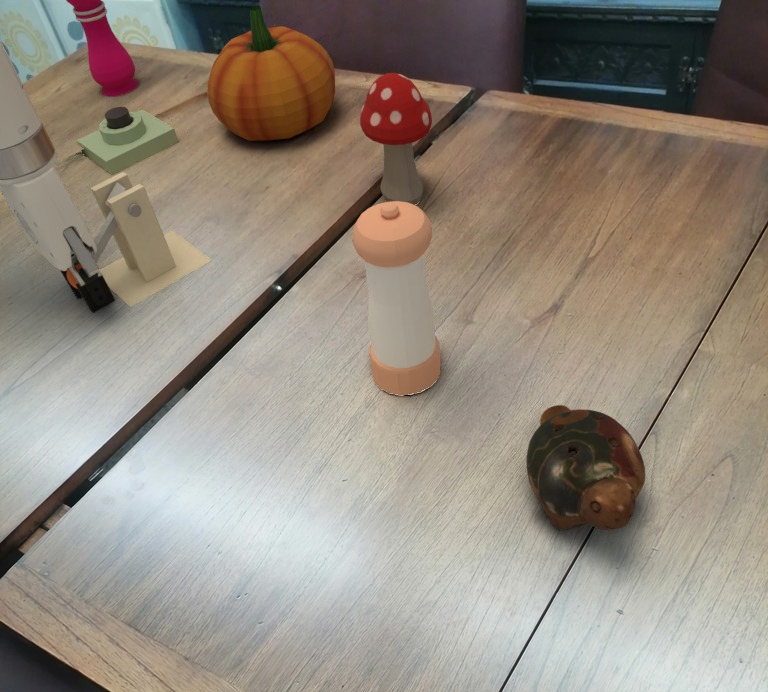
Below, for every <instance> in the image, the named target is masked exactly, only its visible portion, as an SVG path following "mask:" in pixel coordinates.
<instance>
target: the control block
mask: <svg viewBox="0 0 768 692" xmlns="http://www.w3.org/2000/svg"><path fill="white" fill-rule="evenodd" d="M129 114H130V116H131V119H132V123H131V124H130V125H129V126H127V127H125V128H121V129H110V128H109V125H108V123H107V121H106V118H105V117H104V119H103V120H102V121H101V122H100V123H99V126H98V129H97V130H95V131H93V132H91V133H89V134H87V135H84V136H82V137H81V138H79V139H76V142H77V145H79V146H80V147H81V148H82V149H81V150H80V151H81V153H82V154H83V155H84V156H85V157H86V158H88V159H89V160H91V161H92V162H93V163H95V164H96V165H97V166H99V167H100V168H102V170H104V171H106V172H107V173H108V174H110V175H111V176H113V175H115V174H118V173H119V172H121V171H123V170H126V169H128V168H129V167H131V166H133V165H135V164H137V163H139V162H141V161H143V160H145V159H147V158H149V157H151V156H154V155H155V154H157V153H159V152H161V151H164V150H166V149H167V148H169V147H171V146H173V145H176V144H177V143H179V139H178V136H177V134H176V130H175V128H174V127H173V126H171V125H169V124H168V123H166V122H165V121H162V120H161V119H159V118H158V117H156V116H154V115H153V114H151V113H149V112H148V111H146V110H145V109H143V108H142V109H140V110H138V111H129Z"/></svg>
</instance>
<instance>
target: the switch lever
mask: <svg viewBox="0 0 768 692" xmlns="http://www.w3.org/2000/svg"><path fill="white" fill-rule="evenodd" d="M126 190H127V189H126V188H125V187H123V186H122V185H120V184H119V183H116V185H115V186H114V188H113V190H112V192H111V194H110V195H109V197H108V199H107V200H109V199H111V198H113V197H115V196H117V195H119V194H120V193H122V192H124V191H126ZM105 204H106V205H107V206H109V205H108V203H107V201H106V202H105ZM117 226H118V224H117V222H116V220H115V218H114V216H113V213H112V211H110V213H109V215H108V216H107V218H106V220H105V219H104V222H103V224H102V225H101V227H100V228H99V230H98V232H97V234H96V236H95V237H94V238H93V239H94V242H95V244H96V247H97V252H96V254H95V255H94V254H92V253H91V252H90V251H89V252H90V254H91V256H92V257H93V259H94V261H95V263H96V264H97V263H98V261H99V259H100V257H101V255H102V254H103V252H104V250H105V249H106V247H107V245H108V244H109V242H110V240H111V238H112V237H113V233H114V231H115V229H116V228H117ZM75 267H76V268H77V270H78V272H79V269H80V268H82V265H81V264H80V263H79V264H77V265H75ZM67 279H68V281H69V283H70V284H71V285H72V286H73V287H75V288H77V286H76V284H77V283H78V282H77V281H76V279H75V278H74V276H73V274H72V272H71V271H70V269H69V268H68V269H67ZM77 289H78V288H77Z"/></svg>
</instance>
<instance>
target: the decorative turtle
mask: <svg viewBox="0 0 768 692" xmlns="http://www.w3.org/2000/svg"><path fill="white" fill-rule="evenodd" d="M539 424H540V425H539V426H538V427H537V429H536V430H535V431H534V433H533V435H532V437H531V438H530V440H529V443H528V446H527V452H526V472H527V478H528V482H529V485H530V487H531V489H532V492H533V493H534V495H535V497H536V500H537V501H538V502H539V504H540V505H541V507H542V509H543V512H544V513H545V514H546V515H547V517H548V519H549V520H550V522H551V524H552V526H553V527H554V528H555V529H557V528H558V529H557V530H559V529H561V530H560V531H565V530H569V529H572V528H574V527H576V526H579V525H580V526H581V525H587V526H590V527H593V528H596V529H599V530H603V531H604V530H605V531H615V530H618V529H623V528H624V527H627V525H629V524H630V522H631V520H632V518H633V516H634V512H635V508H636V499H637V498H638V496H639V494H640V493H641V491H642V489H643V487H644V485H645V483H646V482H645V481H646V466H645V462H644V459H643V456H642V453H641V451H640V448H639V447H638V444H637V442H636V441H635V440H634V438H633V436H632V434H631V433H630V432H629V431H628V430H627V429H626V428H625V427H624V426H623V425H622V424H621V423H620V422H619V421H617V419H615V418H614V417H612V416H610V415H608V414H606V413H604V412H601V411H597V410H593V409H579V408H577V409H570V408H569V407H567V406H566V405H563V404H556V405H553V406H551V407H548V408H547V409H545V410H544V411H543V412H542V414H541V415H540V420H539ZM572 452H574V453H575V454H572V455H571V453H572Z"/></svg>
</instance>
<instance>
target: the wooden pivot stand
mask: <svg viewBox="0 0 768 692" xmlns="http://www.w3.org/2000/svg"><path fill="white" fill-rule="evenodd" d="M116 183H119V184H120V185H122V186H123V187H125V188H126V189H127V190H126V191H124V192H122V193H120V194H119V195H117V196H115V197H113V198H111V199H109V200H107V199H108V197H109V195H110V194H111V192H112V190H113V188H114V186H115V185H116ZM90 190H91V192H92V194H93V197H94V198H95V201H96V203H97V205H98V207H99V209H100V211H101V212H102V215H103V218H104V221H105V220H106V218H107V216H108V215H109V213H110V211H112V213H113V216H114V218H115V220H116V222H117V224H118V226H117V228H116V229H115V231H114V233H113V235H112V237H113V238H114V240H115V243H116V244H117V247H118V249H119V251H120V254H121V255H122V257H119V259H116V260H115V261H112V262H111V263H109V264H107V265H105V266H104V267H102V268H99V270H100V272H101V273H102V275H103V277H104V279H105V281H106V283H107V285H108V287H109V289H110V291H111V292H112V293H114V294H115V295H116V296H117V297H118V298H119V299H120V300H121V301H122V302H124V303H125V304H126V305H127V306H128V307H129V308H132V307H134V306H136V305H137V304H140V303H141V302H142V301H144V300H146V299H148V298H150V297H151V296H153V295H155V294H157V293H159V292H160V291H162V290H164V289H166V288H167V287H169V286H171V285H172V284H174V283H176V282H178V281H179V280H181V279H183V278H184V277H187V276H188V275H190V274H191V273H194V272H195V271H197V270H198V269H201V268H202V267H204V266H206V265H207V264H209V263H211V262H213V260H212V258H210V257H208V256H207V255H206V254H204V253H203V252H202V251H200V250H199V249H198V248H196V247H195V246H194V245H193V244H192V243H190V242H189V241H187V240H186V239H185V238H183V237H182V236H181V235H179V234H178V233H177V232H175V231H174V230H170V231H168V232H166V233H165V234H164V231H163V229H162V227H161V225H160V223H159V219H158V217H157V214H156V212H155V210H154V207H153V204H152V203H151V200H150V198H149V195H148V193H147V190H146V188H145V186H144V185H143V184H141V183H138V184H136V185H134V186H133V185H132V182H131V179H130V177H129V174H128V173H126V172H125V171H122V172H120V173H117V174H116V175H114V176H112V177H110V178H108V179H106V180H103V181H102V182H100V183H98V184H96V185H93V186H92V187H90ZM106 201H107V203H108V205H109V206H107V205H106V204H105V202H106Z"/></svg>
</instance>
